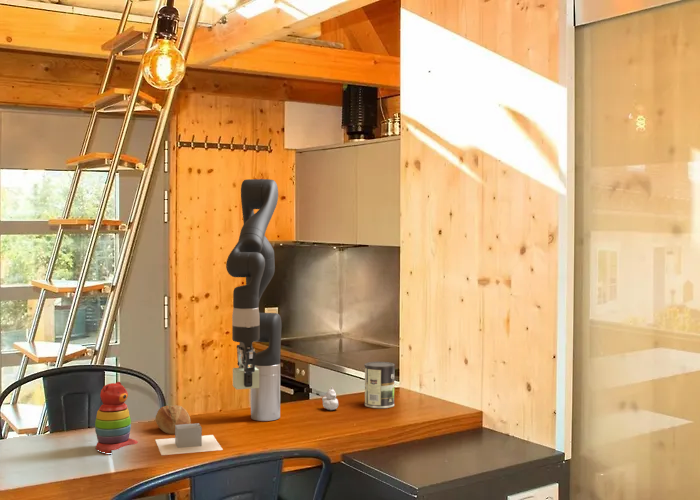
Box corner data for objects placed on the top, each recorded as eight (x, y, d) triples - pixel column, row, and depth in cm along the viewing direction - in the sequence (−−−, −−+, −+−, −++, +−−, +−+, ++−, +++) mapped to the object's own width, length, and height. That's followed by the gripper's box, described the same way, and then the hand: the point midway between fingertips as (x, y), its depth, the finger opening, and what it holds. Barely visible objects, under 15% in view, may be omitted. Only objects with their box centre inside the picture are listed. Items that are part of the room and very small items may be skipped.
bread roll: (163, 441, 225) (163, 412, 225) (150, 429, 238) (150, 402, 238) (196, 437, 229) (196, 409, 229) (181, 425, 243) (181, 399, 243)
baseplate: (155, 443, 222) (155, 439, 222) (212, 439, 227) (212, 434, 227) (161, 459, 206) (161, 455, 206) (223, 454, 212) (223, 449, 212)
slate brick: (177, 447, 213) (177, 429, 213) (175, 443, 218) (175, 424, 218) (201, 445, 215) (201, 427, 215) (198, 441, 220) (198, 423, 220)
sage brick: (236, 389, 219) (236, 371, 219) (232, 385, 224) (232, 368, 224) (259, 387, 221) (259, 370, 221) (255, 384, 226) (255, 366, 226)
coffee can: (393, 401, 277) (394, 361, 276) (395, 408, 266) (395, 366, 266) (364, 401, 277) (364, 361, 276) (364, 408, 267) (364, 366, 266)
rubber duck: (331, 412, 260) (331, 388, 260) (317, 409, 265) (317, 385, 265) (342, 409, 264) (342, 385, 264) (328, 406, 269) (328, 383, 269)
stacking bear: (111, 456, 210) (111, 388, 209) (85, 450, 215) (85, 384, 215) (142, 446, 219) (142, 382, 218) (116, 441, 224) (116, 378, 224)
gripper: (227, 321, 227) (227, 380, 228) (237, 327, 214) (237, 390, 215) (253, 320, 230) (253, 379, 231) (265, 326, 216) (265, 388, 217)
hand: (246, 384), depth 223 cm, fingers closed on sage brick, 5 cm apart
